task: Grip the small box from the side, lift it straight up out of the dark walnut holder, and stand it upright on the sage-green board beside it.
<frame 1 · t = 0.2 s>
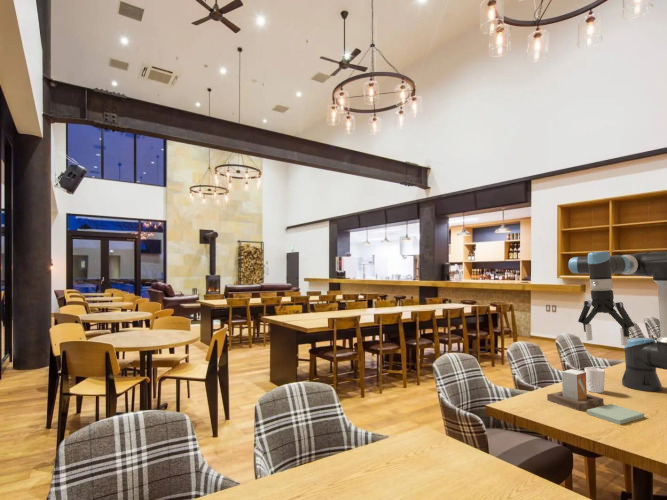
hand: (606, 342, 158), 27 cm above the table, tool pointing down, fingers open, 13 cm apart
white cup: (595, 391, 183), on the table
walnut holder: (575, 402, 167), on the table
small box: (575, 402, 167), resting in walnut holder
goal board: (615, 415, 152), on the table
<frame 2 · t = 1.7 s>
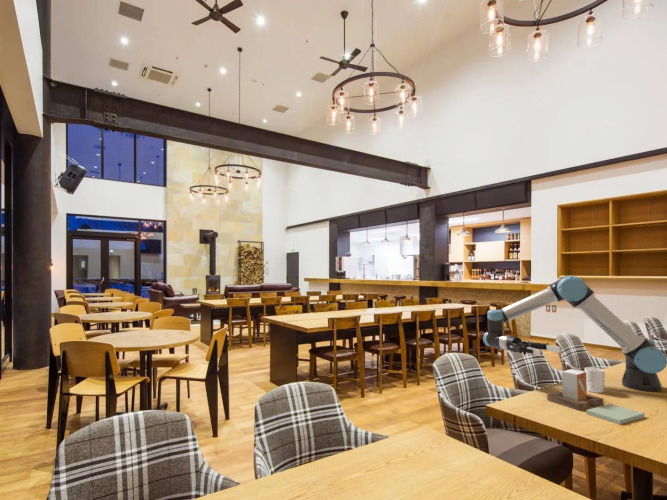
hand: (550, 351, 178), 20 cm above the table, tool horizontal, fingers open, 13 cm apart
nothing on the table moved.
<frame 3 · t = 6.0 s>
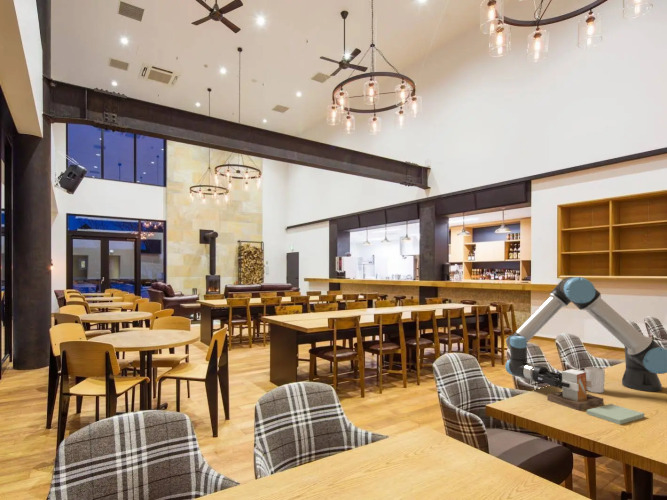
hand: (585, 386, 164), 8 cm above the table, tool horizontal, fingers closed on small box, 9 cm apart
small box: (575, 402, 167), resting in walnut holder, touching gripper
everything else where it was.
when the fingers open (11 cm above the table, at t = 12.1 s): small box drops 1 cm, resting on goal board.
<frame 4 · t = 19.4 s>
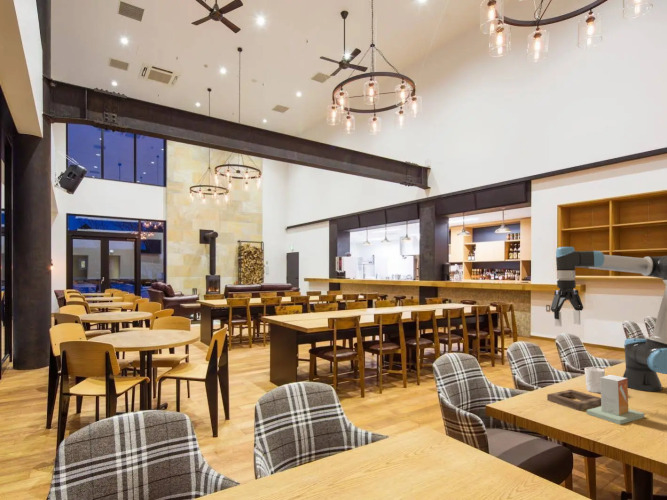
hand: (567, 325, 183), 31 cm above the table, tool pointing down, fingers open, 13 cm apart
small box: (615, 412, 152), point 1 cm above the table, touching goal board
everything else where it was.
at the end: small box inside the target area on the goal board (0.2 cm from its centre), point 1.3 cm above the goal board's base; small box tilted 0°; the gripper is holding nothing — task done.
